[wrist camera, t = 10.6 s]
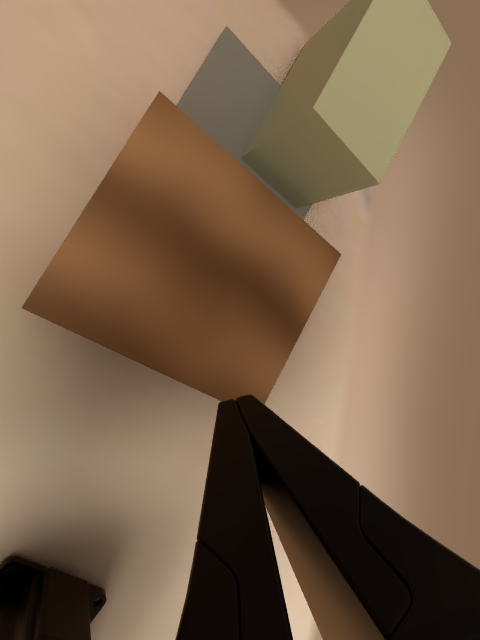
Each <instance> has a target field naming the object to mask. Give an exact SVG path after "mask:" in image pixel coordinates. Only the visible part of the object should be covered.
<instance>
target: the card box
mask: <svg viewBox="0 0 480 640" xmlns="http://www.w3.org/2000/svg"><path fill="white" fill-rule="evenodd" d="M450 45H451V41H450V40H449V38H448V36H447V34H446V33H445V31H444V29H443V27H442V26H441V24H440V22H439V20H438V18H437V17H436V15H435V13H434V12H433V10H432V8H431V6H430V4H429V3H428V1H427V0H350V1H349V2H348V3H347V4H346V5H345V6H344V7H343V8H342V9H341V10H340V11H339V12H338V13H337V14H336V15H335V16H334V17H333V18H332V19H331V20H330V21H329V22H328V23H327V24H326V25H325V26H324V27H323V28H322V29H321V30H320V31H319V32H317V34H316V35H314V36H313V37H312V38H311V39H310V40H309V41H308V42H307V43H306V44H305V46H304V48H303V49H302V51H301V53H300V55H299V56H298V58H297V60H296V62H295V63H294V65H293V67H292V68H291V70H290V72H289V74H288V75H287V77H286V79H285V81H284V82H283V84H282V86H281V88H280V89H279V91H278V93H277V94H276V96H275V98H274V100H273V101H272V103H271V105H270V107H269V108H268V110H267V112H266V114H265V115H264V117H263V119H262V120H261V122H260V124H259V126H258V127H257V129H256V131H255V133H254V134H253V136H252V138H251V140H250V141H249V143H248V145H247V146H246V148H245V150H244V152H243V153H242V155H241V157H240V159H242V160H243V161H244V162H245V163H246V164H247V165H248V166H249V167H250V168H251V169H253V170H254V171H255V172H256V173H257V174H258V175H259V176H260V177H261V178H263V179H264V180H265V181H266V182H267V183H268V184H269V185H270V186H271V187H272V188H274V189H275V190H276V191H277V192H278V193H279V194H280V195H281V196H282V197H284V198H285V199H286V200H287V201H288V202H289V203H290V204H291V205H292V206H293V207H295V208H299V207H303V206H306V205H309V204H313V203H316V202H320V201H323V200H326V199H330V198H333V197H337V196H340V195H344V194H347V193H350V192H354V191H357V190H361V189H364V188H367V187H371V186H374V185H378V184H380V182H381V181H382V179H383V177H384V175H385V173H386V171H387V169H388V167H389V165H390V163H391V161H392V159H393V157H394V155H395V153H396V151H397V149H398V147H399V145H400V143H401V141H402V139H403V137H404V135H405V134H406V131H407V130H408V128H409V126H410V124H411V122H412V120H413V118H414V116H415V114H416V112H417V110H418V108H419V106H420V104H421V102H422V100H423V98H424V96H425V94H426V92H427V90H428V88H429V86H430V84H431V82H432V80H433V78H434V77H435V75H436V73H437V71H438V69H439V67H440V65H441V63H442V61H443V59H444V57H445V55H446V53H447V51H448V49H449V47H450Z"/></svg>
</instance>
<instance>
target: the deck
mask: <svg viewBox="0 0 480 640" xmlns="http://www.w3.org/2000/svg"><path fill="white" fill-rule="evenodd" d="M340 256H341V254H340V253H339V252H338V251H337V250H336V249H335V248H334V247H332V246H331V245H330V244H329V243H328V242H327V241H326V240H325V239H324V238H322V237H321V236H320V235H319V234H318V233H317V232H316V231H315V230H313V229H312V228H311V227H310V226H309V225H308V224H307V223H306V222H305V221H303V220H302V219H301V218H300V217H299V216H298V215H297V214H296V213H295V212H293V211H292V210H291V209H290V208H289V207H288V206H287V205H286V204H285V203H283V202H282V201H281V200H280V199H279V198H278V197H277V196H276V195H275V194H273V193H272V192H271V191H270V190H269V189H268V188H267V187H266V186H265V185H263V184H262V183H261V182H260V181H259V180H258V179H257V178H256V177H255V176H253V175H252V174H251V173H250V172H249V171H248V170H247V169H246V168H245V167H243V166H242V165H241V164H240V163H239V162H238V161H237V160H236V159H235V158H233V157H232V156H231V155H230V154H229V153H228V152H227V151H226V150H225V149H223V148H222V147H221V146H220V145H219V144H218V143H217V142H216V141H215V140H213V139H212V138H211V137H210V136H209V135H208V134H207V133H206V132H205V131H203V130H202V129H201V128H200V127H199V126H198V125H197V124H196V123H195V122H193V121H192V120H191V119H190V118H189V117H188V116H187V115H186V114H185V113H183V112H182V111H181V110H180V109H179V108H178V107H177V106H176V105H175V104H173V103H172V102H171V101H170V100H169V99H168V98H167V97H166V96H165V95H163V94H162V93H161V92H160V91H159V93H158V94H157V96H156V97H155V99H154V100H153V102H152V104H151V105H150V107H149V108H148V110H147V111H146V113H145V115H144V116H143V118H142V119H141V121H140V122H139V124H138V126H137V127H136V129H135V130H134V132H133V133H132V135H131V137H130V138H129V140H128V141H127V143H126V145H125V146H124V148H123V149H122V151H121V152H120V154H119V156H118V157H117V159H116V160H115V162H114V163H113V165H112V167H111V168H110V170H109V171H108V173H107V174H106V176H105V178H104V179H103V181H102V182H101V184H100V185H99V187H98V189H97V190H96V192H95V193H94V195H93V196H92V198H91V200H90V201H89V203H88V204H87V206H86V207H85V209H84V211H83V212H82V214H81V215H80V217H79V218H78V220H77V222H76V223H75V225H74V226H73V228H72V229H71V231H70V233H69V234H68V236H67V237H66V239H65V240H64V242H63V244H62V245H61V247H60V248H59V250H58V252H57V253H56V255H55V256H54V258H53V259H52V261H51V263H50V264H49V266H48V267H47V269H46V270H45V272H44V274H43V275H42V277H41V278H40V280H39V281H38V283H37V285H36V286H35V288H34V289H33V291H32V292H31V294H30V296H29V297H28V299H27V300H26V302H25V303H24V305H23V307H22V308H23V309H25V310H27V311H29V312H31V313H34V314H36V315H38V316H40V317H42V318H44V319H46V320H49V321H51V322H53V323H55V324H57V325H59V326H61V327H64V328H66V329H68V330H70V331H72V332H74V333H76V334H79V335H81V336H83V337H85V338H87V339H89V340H92V341H94V342H96V343H98V344H100V345H102V346H104V347H107V348H109V349H111V350H113V351H115V352H117V353H119V354H122V355H124V356H126V357H128V358H130V359H132V360H134V361H137V362H139V363H141V364H143V365H145V366H147V367H149V368H152V369H154V370H156V371H158V372H160V373H162V374H164V375H167V376H169V377H171V378H173V379H175V380H177V381H179V382H182V383H184V384H186V385H188V386H190V387H192V388H194V389H197V390H199V391H201V392H203V393H205V394H207V395H209V396H212V397H214V398H216V399H218V400H220V401H226V400H230V399H234V400H236V398H237V397H241V396H244V395H248V394H251V395H253V396H254V397H255V398H257V399H258V400H259V401H260V402H262V403H263V404H265V402H266V400H267V398H268V396H269V394H270V392H271V390H272V388H273V386H274V384H275V382H276V380H277V378H278V377H279V375H280V373H281V371H282V369H283V367H284V365H285V363H286V361H287V359H288V357H289V355H290V353H291V351H292V349H293V347H294V345H295V343H296V341H297V340H298V338H299V336H300V334H301V332H302V330H303V328H304V326H305V324H306V322H307V320H308V318H309V316H310V314H311V312H312V310H313V308H314V306H315V304H316V303H317V301H318V299H319V297H320V295H321V293H322V291H323V289H324V287H325V285H326V283H327V281H328V279H329V277H330V275H331V273H332V271H333V269H334V267H335V266H336V264H337V262H338V260H339V258H340Z"/></svg>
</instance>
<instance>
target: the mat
mask: <svg viewBox="0 0 480 640" xmlns="http://www.w3.org/2000/svg"><path fill="white" fill-rule="evenodd" d="M280 88H281V86H280V85H279V84H278V83H277V82H276V80H275V79H274V78H273V77H272V76H271V75H270V74H269V73H268V71H267V70H266V69H265V68H264V67H263V66H262V65H261V64H260V63H259V61H258V60H257V59H256V58H255V57H254V56H253V55H252V54H251V53H250V51H249V50H248V49H247V48H246V47H245V46H244V45H243V44H242V42H241V41H240V40H239V39H238V38H237V37H236V36H235V35H234V34H233V32H232V31H231V30H230V29H229V28H228V27H227V26H226V28H225V29H224V31H223V32H222V34H221V36H220V37H219V39H218V40H217V42H216V44H215V45H214V47H213V48H212V50H211V52H210V53H209V55H208V56H207V58H206V60H205V61H204V63H203V64H202V66H201V68H200V69H199V71H198V72H197V74H196V76H195V77H194V79H193V80H192V82H191V84H190V85H189V87H188V89H187V90H186V92H185V93H184V95H183V97H182V98H181V100H180V101H179V103H178V105H177V107H178V108H179V109H180V110H181V111H182V112H183V113H185V114H186V115H187V116H188V117H189V118H190V119H191V120H192V121H193V122H195V123H196V124H197V125H198V126H199V127H200V128H201V129H202V130H203V131H205V132H206V133H207V134H208V135H209V136H210V137H211V138H212V139H213V140H215V141H216V142H217V143H218V144H219V145H220V146H221V147H222V148H223V149H225V150H226V151H227V152H228V153H229V154H230V155H231V156H232V157H233V158H235V159H236V160H237V161H238V162H239V163H240V164H241V165H242V166H243V167H245V168H246V169H247V170H248V171H249V172H250V173H251V174H252V175H253V176H255V177H256V178H257V179H258V180H259V181H260V182H261V183H262V184H263V185H265V186H266V187H267V188H268V189H269V190H270V191H271V192H272V193H273V194H275V195H276V196H277V197H278V198H279V199H280V200H281V201H282V202H283V203H285V204H286V205H287V206H288V207H289V208H290V209H291V210H292V211H293V212H295V213H296V214H297V215H298V216H299V217H300V218H301V219H302V220H304V218H305V216H306V214H307V212H308V211H309V209H310V207H311V205H312V204H309V205H306V206H303V207H299V208H295V207H293V206H292V205H291V204H290V203H289V202H288V201H287V200H286V199H285V198H284V197H282V196H281V195H280V194H279V193H278V192H277V191H276V190H275V189H274V188H272V187H271V186H270V185H269V184H268V183H267V182H266V181H265V180H264V179H263V178H261V177H260V176H259V175H258V174H257V173H256V172H255V171H254V170H253V169H251V168H250V167H249V166H248V165H247V164H246V163H245V162H244V161H243V160H242V159H240V157H241V155H242V153H243V152H244V150H245V148H246V146H247V145H248V143H249V141H250V140H251V138H252V136H253V134H254V133H255V131H256V129H257V127H258V126H259V124H260V122H261V120H262V119H263V117H264V115H265V114H266V112H267V110H268V108H269V107H270V105H271V103H272V101H273V100H274V98H275V96H276V94H277V93H278V91H279V89H280Z"/></svg>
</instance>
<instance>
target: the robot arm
mask: <svg viewBox="0 0 480 640" xmlns="http://www.w3.org/2000/svg"><path fill="white" fill-rule="evenodd" d="M265 506H266V507H265ZM266 508H267V511H268V513H269V515H270V517H271V520H272V522H273V524H274V527H275V529H276V531H277V534H278V536H279V538H280V541H281V543H282V545H283V548H284V550H285V552H286V555H287V557H288V559H289V562H290V564H291V566H292V569H293V571H294V573H295V576H296V578H297V580H298V582H299V585H300V587H301V589H302V592H303V594H304V596H305V599H306V601H307V603H308V606H309V608H310V610H311V613H312V615H313V617H314V620H315V622H316V624H317V627H318V629H319V631H320V634H321V636H322V638H323V640H480V570H479V569H477V568H476V567H475V566H473V565H472V564H470V563H469V562H467V561H466V560H464V559H463V558H461V557H460V556H458V555H457V554H456V553H454V552H452V551H451V550H450V549H448V548H447V547H445V546H444V545H442V544H441V543H439V542H438V541H436V540H435V539H433V538H432V537H430V536H429V535H428V534H426V533H425V532H423V531H422V530H420V529H419V528H417V527H416V526H415V525H413V524H412V523H410V522H409V521H408V520H406V519H405V518H403V517H402V516H401V515H399V514H398V513H397V512H396V511H394V510H393V509H392V508H390V507H389V506H388V505H386V504H385V503H384V502H383V501H381V500H380V499H379V498H378V497H376V496H375V495H374V494H373V493H371V492H370V491H369V490H368V489H367V488H366V487H364V486H363V485H361V486H360V483H359V482H358V481H357V480H355V479H354V478H353V477H352V476H351V475H349V474H348V473H347V472H346V471H345V470H343V469H342V468H341V467H340V466H339V465H337V464H336V463H335V462H334V461H332V460H331V459H330V458H329V457H328V456H326V455H325V454H324V453H323V452H321V451H320V450H319V449H318V448H317V447H315V446H314V445H313V444H312V443H310V442H309V441H308V440H307V439H306V438H304V437H303V436H302V435H301V434H299V433H298V432H297V431H296V430H295V429H293V428H292V427H291V426H290V425H288V424H287V423H286V422H285V421H284V420H282V419H281V418H280V417H279V416H277V415H276V414H275V413H274V412H273V411H271V410H270V409H269V408H268V407H266V406H265V405H264V404H263V403H262V402H260V401H259V400H258V399H257V398H255V397H254V396H253V395H251V394H248V395H244V396H241V397H237V398H236V400H234V399H230V400H226V401H222V402H220V403H219V404H218V409H217V416H216V422H215V428H214V434H213V440H212V447H211V453H210V459H209V465H208V471H207V478H206V484H205V490H204V496H203V503H202V509H201V515H200V521H199V527H198V534H197V542H196V545H195V551H194V557H193V563H192V568H191V573H190V579H189V584H188V589H187V594H186V599H185V603H184V607H183V611H182V615H181V620H180V624H179V628H178V632H177V636H176V640H293V637H292V632H291V628H290V623H289V618H288V613H287V608H286V603H285V599H284V594H283V589H282V584H281V579H280V575H279V570H278V565H277V560H276V555H275V551H274V546H273V541H272V536H271V531H270V527H269V522H268V517H267V512H266ZM10 566H15V568H14V569H11V570H8V569H7V568H8V567H10ZM97 598H100V599H99V600H96V601H94V600H95V599H97ZM105 602H106V592H105V590H104V589H102V588H99V587H97V586H94V585H92V584H89V583H87V581H85V580H83V579H80V578H77V577H75V576H72V575H70V574H67V573H65V572H62V571H59V570H57V569H54V568H47V567H45V566H42V565H40V564H37V563H35V562H32V561H29V560H27V559H24V558H22V557H19V556H11V557H9V558H7V559H5V560H4V561H3V562H2V563H1V565H0V640H91V633H90V623H91V622H92V620H93V619H94V618H95V616H96V615H97V614H98V612H99V611H100V610H101V608H102V607H103V606H104V604H105Z"/></svg>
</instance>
